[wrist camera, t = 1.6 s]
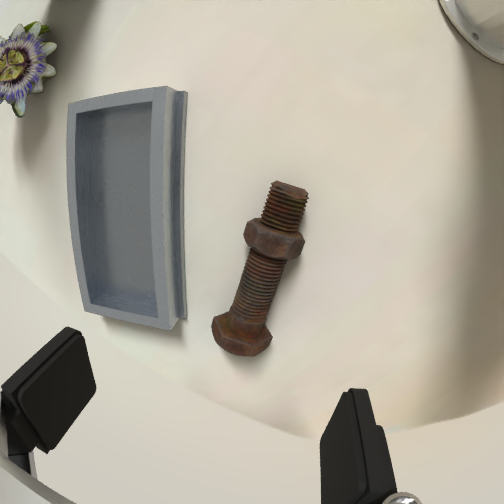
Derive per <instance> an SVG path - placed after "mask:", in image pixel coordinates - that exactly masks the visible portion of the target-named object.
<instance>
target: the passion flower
mask: <svg viewBox="0 0 504 504" xmlns="http://www.w3.org/2000/svg"><path fill="white" fill-rule="evenodd" d="M49 31H50V29H49V27H48V26H46V25H41V23H40V22H37V21H36V22H33V23H30V24H28V25H27V26H25V27H23V26H22V24H19V25H17V26H16V27H15V29H14V30H13V32H12V34H11V37H10V36H9V39H8V40H7V39H6V40H4V39H5V38H4V39H3V38H2V37H1V36H0V104H1V103H2V102H3V100H6V101H7V103H8V104H11V105H12V109H13V111H14V113H15V115H16V116H17V117H18V118H22V117H23V115H24V113H25V108H26V105H25V104H26V103H25V98H26V96H27V95H28V94H29V93H32V94H37V93H42V92H44V86H43V81H44V80H45V79H46V78H51V77H53V76H55V75H56V70H55V68H54V67H53V66H51V65H49V64H47V63H46V57H47V56H48V55H49V54H51V53H53V52H54V50H55V49H56V47H57V45H56V44H55V43H53V42H42V41H43V40H44V39H43V40H42V39H41V40H42V41H41V40H39V39H38V36H40V35H41V34H44V33H46V32H49Z"/></svg>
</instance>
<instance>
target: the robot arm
mask: <svg viewBox="0 0 504 504" xmlns="http://www.w3.org/2000/svg"><path fill="white" fill-rule="evenodd" d="M439 1H440V4H441V6H442V8H443V9H444V11H445V13H446V15H447V16H448V18H449V19H450V21H451V22H452V24H453V25H454V26H455V27H456V29H457V30H458V31H459V33H460V34H461V35H462V36H463V37H464V38H465V39H466V40H467V41H468V42H469V43H470V44H471V45H472V46H473V47H474V48H475V49H477V50H478V51H479V52H481V53H482V54H483V55H484V56H486V57H488V58H489V59H491V60H493V61H495V62H498V63H500V64H504V0H439ZM1 388H2V391H1V392H0V504H76V503H74V502H72V501H70V500H69V499H67V498H65V497H64V496H62V495H60V494H58V493H57V492H55V491H54V490H52V489H50V488H49V487H47V486H46V485H44V484H43V483H41V482H40V481H38V480H37V474H36V468H35V461H34V453H33V449H34V448H35V446H36V447H37V448H38V449H40V450H42V451H43V452H45V453H46V454H48V452H49V451H50V450H53V449H54V448H55V447H56V446H57V444H58V443H59V442H60V440H61V439H62V437H63V436H64V435H65V433H66V432H67V431H68V429H69V428H70V426H71V425H72V424H73V422H74V421H75V420H76V418H77V417H78V416H79V414H80V413H81V411H82V410H83V409H84V407H85V406H86V405H87V403H88V402H89V401H90V399H91V398H92V397H93V395H94V394H95V392H96V384H95V380H94V376H93V372H92V368H91V364H90V361H89V356H88V352H87V347H86V343H85V339H84V337H83V336H82V333H81V332H80V331H78V330H75V329H73V328H70V327H65V328H64V329H63V330H62V331H60V333H58V334H57V335H56V336H55V337H54V338H52V339H51V340H50V341H49V342H48V343H47V344H46V345H44V346H43V347H42V348H41V349H40V350H39V351H38V352H37V353H36V354H35V355H33V357H32V358H30V359H29V360H28V361H27V362H26V363H25V364H24V365H23V366H22V367H21V368H20V369H18V370H17V371H16V372H15V373H14V374H13V375H12V376H11V377H10V378H9V379H8V380H7V381H6V382H5V383H4V384H3V385H2V386H1ZM320 467H321V504H422V503H421V501H420V500H419V499H418V498H417V497H416V496H414V495H413V494H410V493H407V492H400V493H398V492H397V488H396V482H395V477H394V472H393V468H392V463H391V458H390V454H389V450H388V445H387V442H386V437H385V433H384V430H383V428H382V426H380V425H376V422H375V418H374V414H373V410H372V406H371V402H370V398H369V394H368V391H367V390H366V389H355V388H350V389H349V390H348V392H343V394H342V396H341V398H340V400H339V402H338V404H337V406H336V409H335V411H334V413H333V415H332V417H331V419H330V421H329V423H328V425H327V427H326V429H325V431H324V433H323V435H322V437H321V440H320Z"/></svg>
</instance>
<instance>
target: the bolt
mask: <svg viewBox="0 0 504 504" xmlns="http://www.w3.org/2000/svg"><path fill="white" fill-rule="evenodd" d="M271 184H272V187H270V189H271V190H270V191H269V193H270V194H269V195H268V199H266V200H267V202H266V203H265V205H266V206H264V209H265V210H263V211H262V212H263V214H261V216H262V218H254V219H252V220H250V221H249V222H247V224H246V227H245V231H244V234H243V235H244V239H245V241H246V243H247V245H248V246H249V247H251V248H250V252H249V255H248V259H247V260H246V263H245V265H246V266H245V267H244V270H243V273H242V277H241V280H240V283H239V286H238V290H237V293H236V296H235V299H234V302H233V305H232V306H231V307H230V311H229V312H226V313H224V314H221V315H218V316H215V317H214V318H213V322H212V325H211V327H212V333H213V336H214V339H215V341H216V343H217V344H218V345H219V346H220V347H222V348H223V349H224V350H226V351H228V352H229V353H231V354H234V355H238V356H256V355H258V354H260V353H261V352H262V351H264V350H265V349H266V348H267V347H268V346H269V344H270V342H271V340H272V338H273V336H272V335H271V333H270V332H269V330H268V329H267V327H266V326H265V324H264V323H265V320H266V315H267V312H268V309H269V307H270V304H271V302H272V299H273V296H274V294H275V291H276V289H277V285H278V282H279V280H280V278H281V275H282V272H283V268H284V265H285V264H286V261H287V260H292V259H294V258H296V257H297V256H299V255H300V254H301V252H302V249H303V246H304V243H305V240H304V238H303V236H302V234H301V233H300V232H298V231H297V230H298V228H297V227H299V224H298V223H300V222H301V221H300V219H302V217H301V215H303V212H302V211H304V210H305V209H304V207H306V205H305V203H307V199H309V197H308V196H307V195H308V193H307V192H306V190H304V189H302V188H298V187H295V186H292V185H289V184H286V183H282V182H279V181H275V182H273V183H271Z"/></svg>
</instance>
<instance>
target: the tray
mask: <svg viewBox="0 0 504 504" xmlns="http://www.w3.org/2000/svg"><path fill="white" fill-rule="evenodd" d="M187 93H188V92H186V91H177V90H175V89H173V88H170V87H168V86H162V87H153V88H146V89H139V90H132V91H126V92H120V93H114V94H109V95H104V96H99V97H95V98H90V99H86V100H81V101H77V102H73V103H69V105H68V120H67V191H68V206H69V218H70V228H71V237H72V245H73V252H74V259H75V265H76V271H77V277H78V282H79V287H80V292H81V297H82V302H83V306H84V311H86V312H90V313H94V314H98V315H102V316H106V317H110V318H114V319H118V320H122V321H127V322H131V323H136V324H140V325H145V326H150V327H155V328H160V329H165V330H170V331H171V330H172V328H173V327H174V325H175V324H176V322H177V321H178V319H179V318H184V319H185V317H186V316H187V305H186V286H185V261H184V151H185V126H186V108H187Z"/></svg>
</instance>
